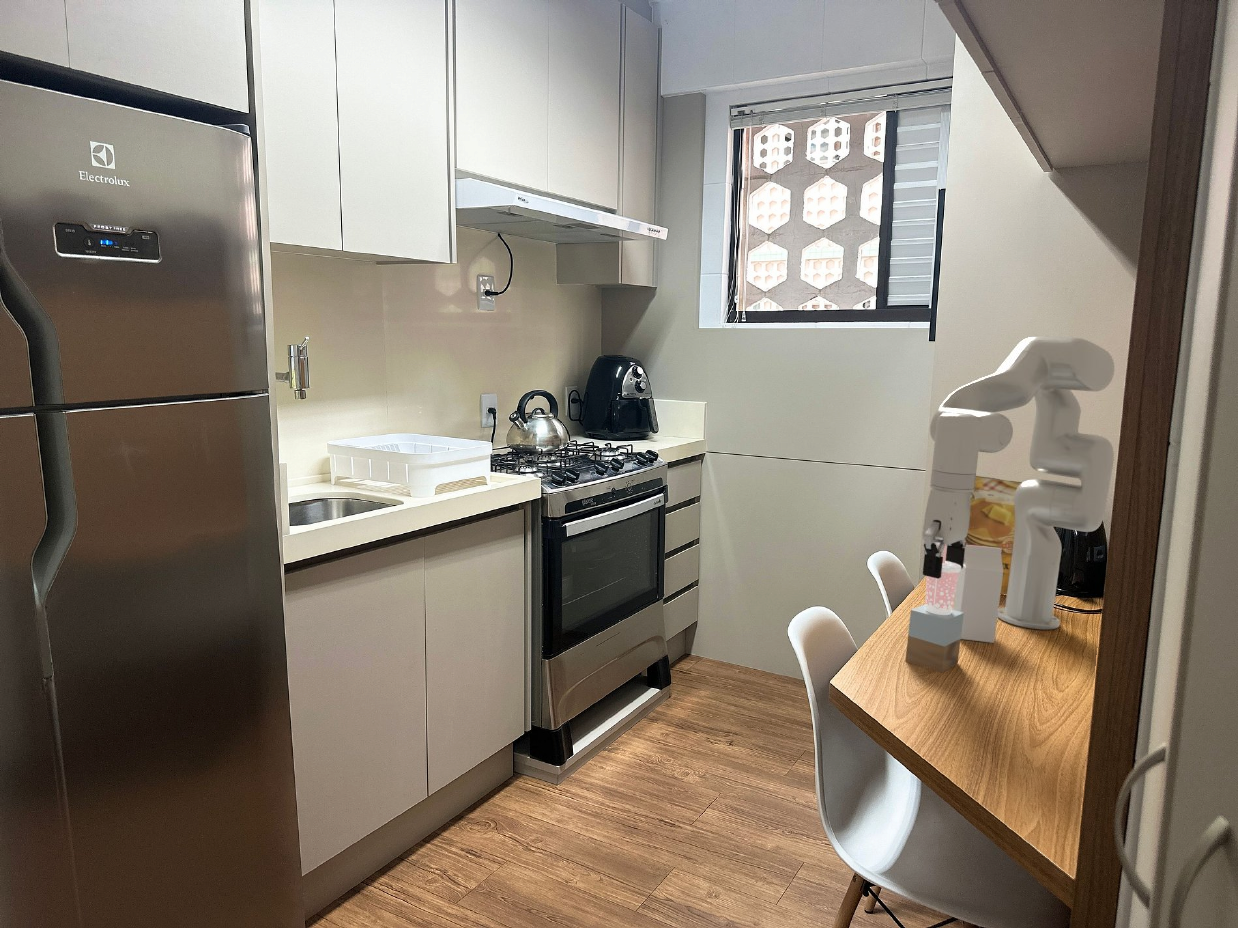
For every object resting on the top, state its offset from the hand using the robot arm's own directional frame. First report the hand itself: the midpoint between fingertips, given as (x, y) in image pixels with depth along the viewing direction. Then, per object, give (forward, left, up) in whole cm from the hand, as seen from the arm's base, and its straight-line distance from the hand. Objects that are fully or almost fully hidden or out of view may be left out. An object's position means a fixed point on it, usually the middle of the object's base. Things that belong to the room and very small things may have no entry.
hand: (942, 571), depth 155 cm
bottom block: (0, 0, -18) cm, 17 cm away
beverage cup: (0, 0, -8) cm, 8 cm away
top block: (+1, 0, -13) cm, 12 cm away
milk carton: (-22, -1, -18) cm, 28 cm away
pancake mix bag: (-61, -14, -18) cm, 65 cm away
